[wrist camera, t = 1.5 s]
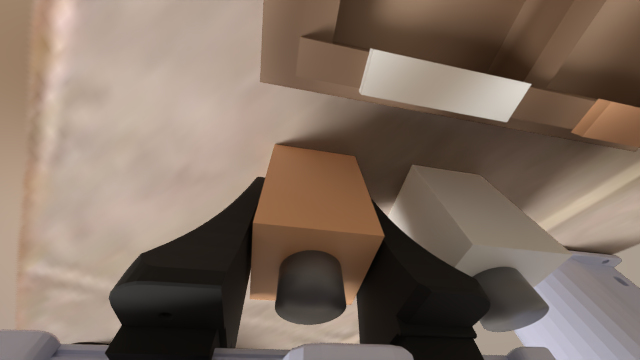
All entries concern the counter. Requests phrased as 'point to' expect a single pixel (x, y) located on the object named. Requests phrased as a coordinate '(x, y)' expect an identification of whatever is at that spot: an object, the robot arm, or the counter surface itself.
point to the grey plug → (480, 240)
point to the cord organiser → (469, 60)
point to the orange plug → (312, 234)
